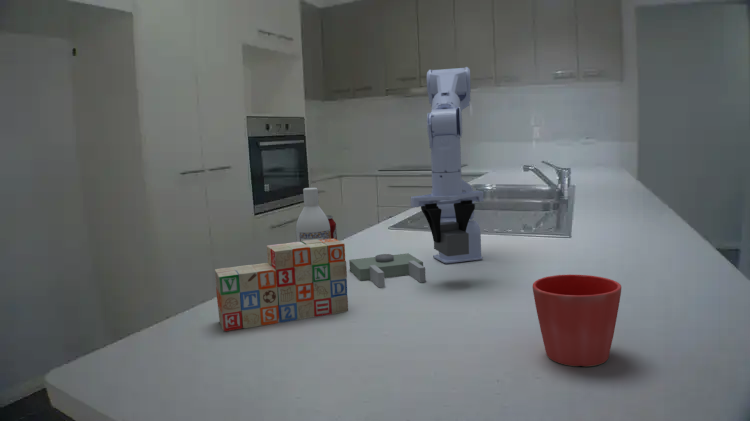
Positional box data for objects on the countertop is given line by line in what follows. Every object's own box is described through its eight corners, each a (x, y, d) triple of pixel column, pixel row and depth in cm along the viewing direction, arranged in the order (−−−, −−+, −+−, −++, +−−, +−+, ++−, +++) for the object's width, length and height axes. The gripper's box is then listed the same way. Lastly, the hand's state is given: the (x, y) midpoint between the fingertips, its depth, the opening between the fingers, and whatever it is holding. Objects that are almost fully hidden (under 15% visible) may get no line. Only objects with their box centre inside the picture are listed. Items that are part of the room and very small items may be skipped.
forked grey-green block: (408, 263, 131) (408, 249, 130) (435, 280, 115) (434, 264, 114) (349, 270, 127) (349, 255, 127) (368, 289, 111) (367, 272, 111)
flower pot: (521, 344, 79) (520, 276, 78) (597, 337, 80) (597, 270, 79) (551, 376, 68) (550, 298, 67) (638, 368, 69) (639, 291, 68)
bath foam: (338, 285, 115) (332, 187, 112) (306, 291, 112) (299, 191, 109) (326, 278, 121) (320, 185, 118) (295, 283, 118) (288, 188, 115)
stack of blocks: (223, 333, 90) (216, 258, 89) (218, 322, 96) (212, 251, 95) (349, 311, 98) (345, 242, 96) (338, 302, 104) (334, 236, 102)
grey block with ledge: (454, 246, 114) (453, 221, 114) (469, 253, 108) (468, 227, 107) (434, 248, 113) (433, 223, 112) (447, 256, 107) (446, 229, 106)
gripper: (417, 175, 104) (421, 248, 105) (490, 170, 107) (491, 240, 109) (405, 173, 110) (408, 241, 112) (474, 168, 114) (476, 234, 116)
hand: (448, 240), depth 111 cm, fingers closed on grey block with ledge, 4 cm apart
